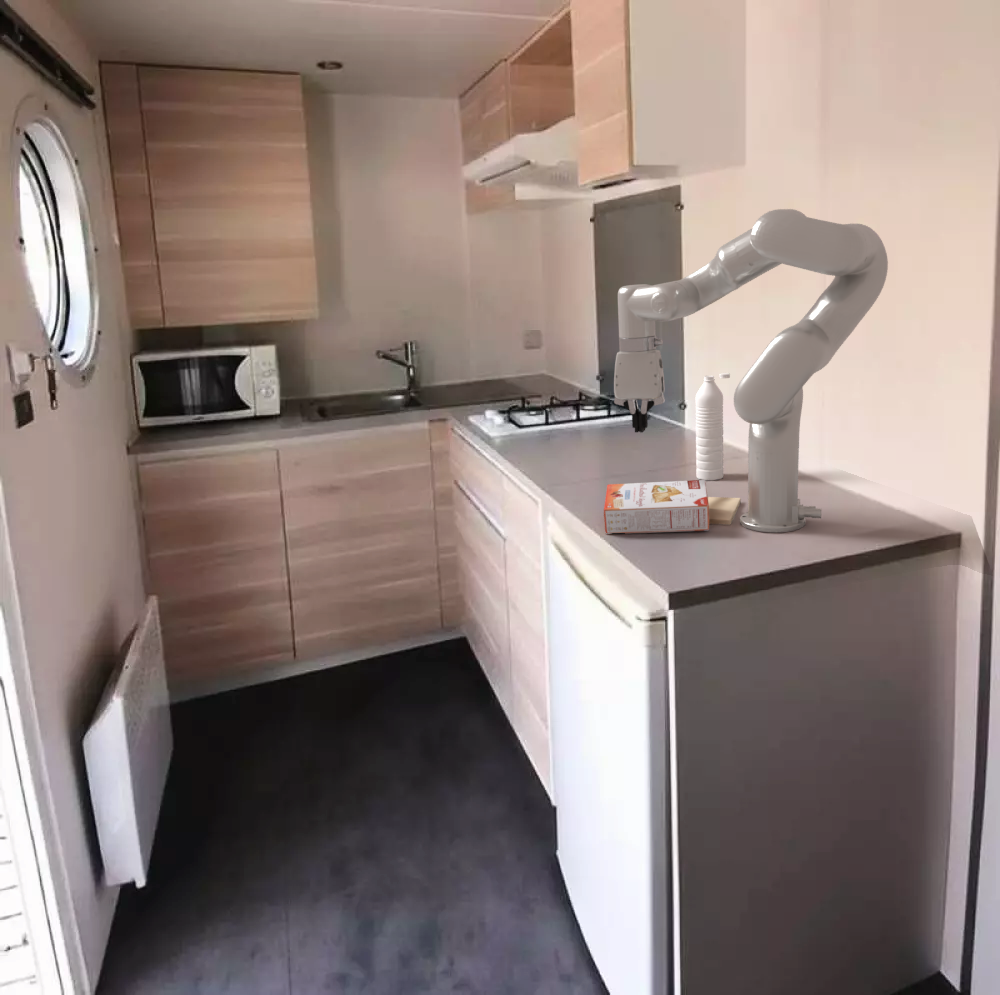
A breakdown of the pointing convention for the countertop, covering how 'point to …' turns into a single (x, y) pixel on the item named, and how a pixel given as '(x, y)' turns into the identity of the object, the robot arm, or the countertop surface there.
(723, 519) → the cutting board
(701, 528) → the cracker box
